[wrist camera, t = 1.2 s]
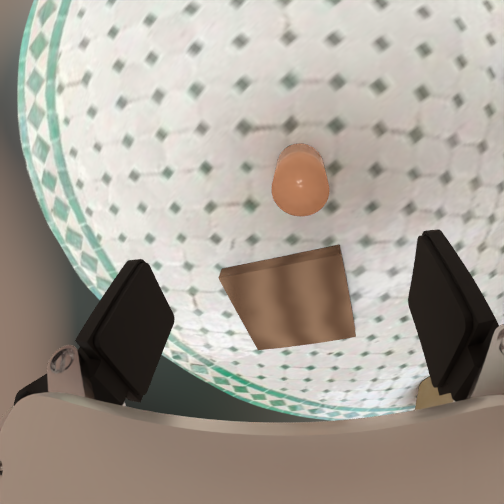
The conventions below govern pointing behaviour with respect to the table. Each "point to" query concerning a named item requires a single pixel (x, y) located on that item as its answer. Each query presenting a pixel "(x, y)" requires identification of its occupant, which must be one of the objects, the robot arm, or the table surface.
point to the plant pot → (430, 396)
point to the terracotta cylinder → (300, 181)
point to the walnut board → (292, 298)
